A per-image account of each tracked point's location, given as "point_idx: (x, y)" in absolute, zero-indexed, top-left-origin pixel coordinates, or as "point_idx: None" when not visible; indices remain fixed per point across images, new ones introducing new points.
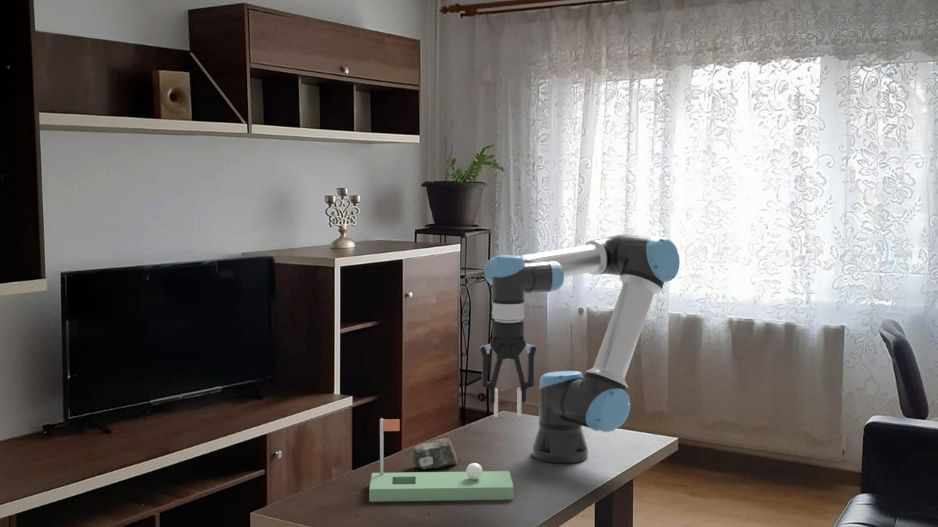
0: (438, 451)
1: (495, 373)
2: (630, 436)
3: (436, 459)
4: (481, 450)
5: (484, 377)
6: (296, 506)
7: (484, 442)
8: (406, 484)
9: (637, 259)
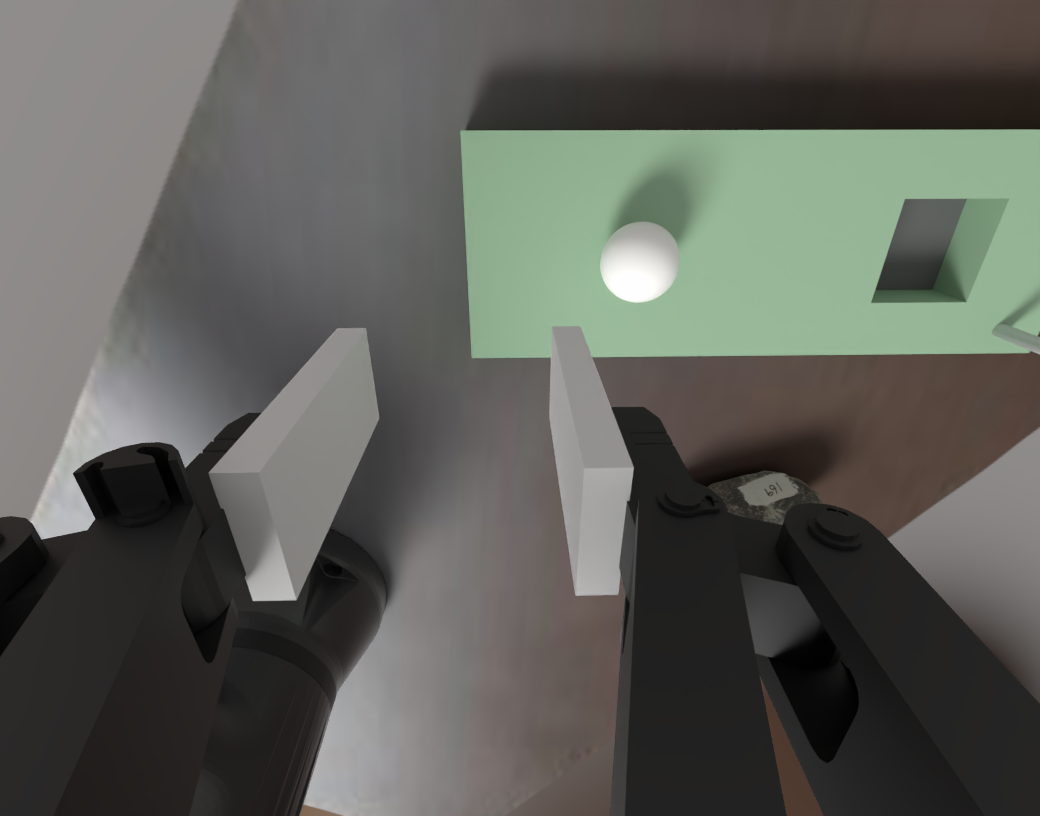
0: None
1: (724, 770)
2: None
3: (730, 500)
4: (544, 627)
5: (956, 656)
6: None
7: (529, 681)
8: (946, 194)
9: None
